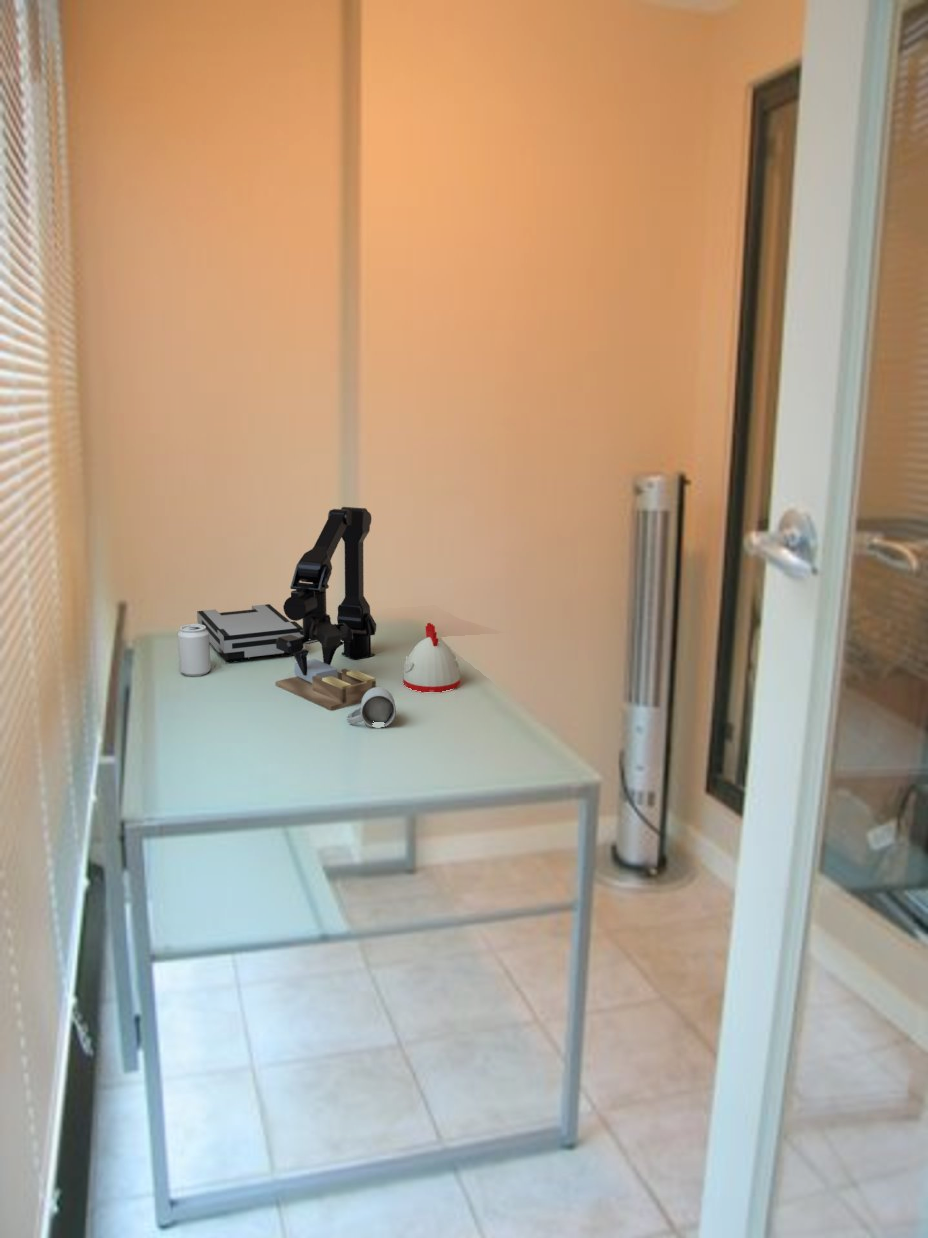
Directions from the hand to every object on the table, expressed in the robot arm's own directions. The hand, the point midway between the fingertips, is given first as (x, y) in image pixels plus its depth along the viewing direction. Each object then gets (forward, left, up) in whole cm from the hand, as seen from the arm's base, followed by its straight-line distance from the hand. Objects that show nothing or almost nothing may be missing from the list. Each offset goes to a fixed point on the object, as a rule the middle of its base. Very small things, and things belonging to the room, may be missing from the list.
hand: (315, 672), depth 254 cm
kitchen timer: (-22, +18, -3) cm, 28 cm away
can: (+18, -26, -3) cm, 32 cm away
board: (0, +6, -3) cm, 7 cm away
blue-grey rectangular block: (0, 0, -1) cm, 1 cm away
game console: (-5, -39, -4) cm, 40 cm away
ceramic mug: (+6, +29, -3) cm, 30 cm away
